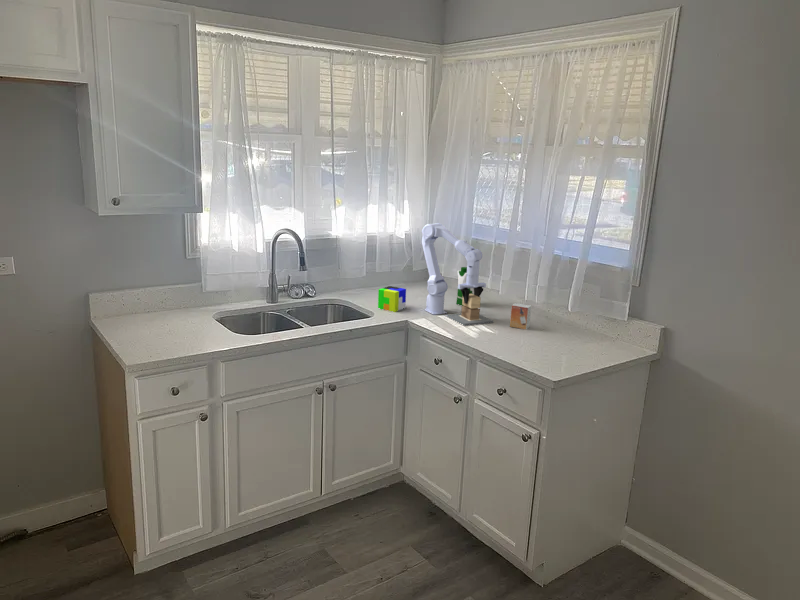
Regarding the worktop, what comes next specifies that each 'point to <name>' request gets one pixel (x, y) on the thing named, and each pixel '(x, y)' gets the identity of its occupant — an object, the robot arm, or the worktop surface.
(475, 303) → the oak block
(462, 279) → the milk carton
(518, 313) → the small box
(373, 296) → the worktop surface
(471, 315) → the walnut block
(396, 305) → the puzzle toy
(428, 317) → the worktop surface
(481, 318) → the board
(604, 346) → the worktop surface
